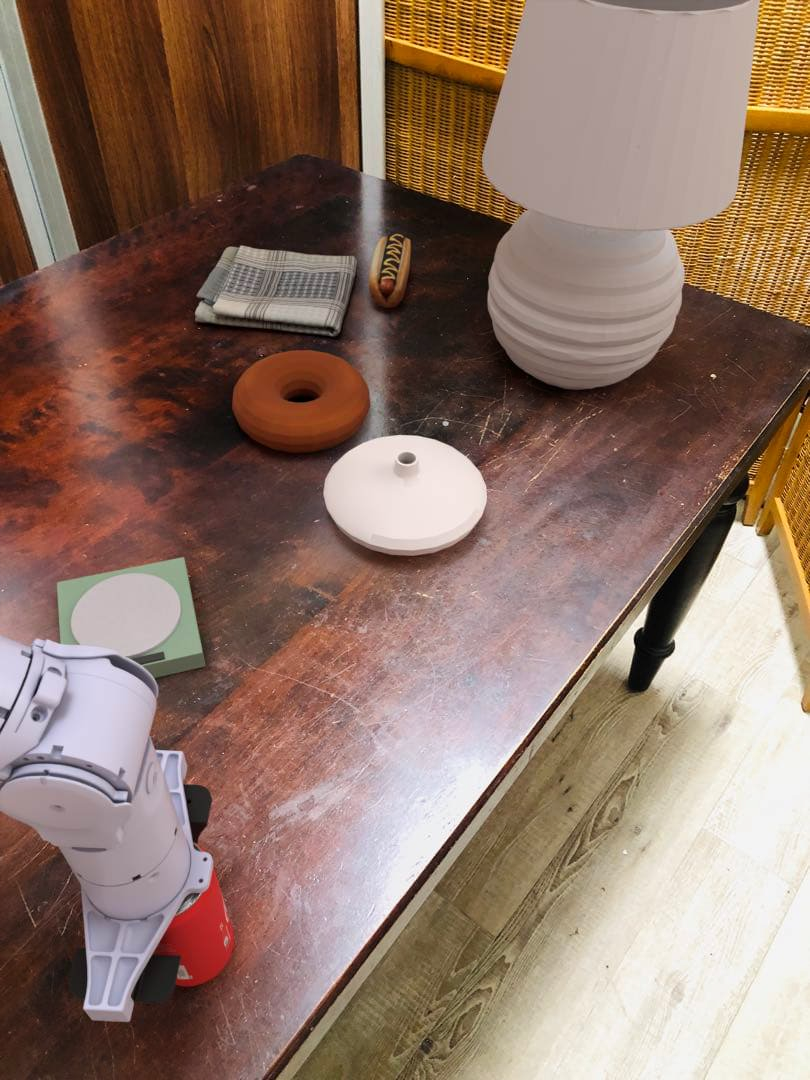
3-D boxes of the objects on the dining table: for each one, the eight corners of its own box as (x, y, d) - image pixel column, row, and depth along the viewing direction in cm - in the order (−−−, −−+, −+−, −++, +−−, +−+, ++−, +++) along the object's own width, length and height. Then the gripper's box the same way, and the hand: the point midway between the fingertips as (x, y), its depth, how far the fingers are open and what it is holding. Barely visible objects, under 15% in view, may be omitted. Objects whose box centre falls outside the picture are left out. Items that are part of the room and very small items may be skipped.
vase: (305, 477, 90) (301, 423, 85) (447, 445, 94) (452, 392, 89) (353, 589, 80) (352, 536, 75) (511, 548, 84) (520, 494, 79)
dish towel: (360, 266, 119) (360, 244, 116) (339, 341, 106) (339, 318, 104) (225, 255, 119) (222, 232, 117) (189, 328, 107) (185, 305, 105)
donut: (271, 481, 89) (267, 443, 86) (212, 402, 98) (206, 364, 94) (396, 434, 95) (397, 397, 91) (330, 363, 103) (328, 326, 100)
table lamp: (711, 353, 107) (839, -25, 78) (614, 461, 93) (727, 47, 64) (533, 283, 117) (588, -76, 88) (421, 370, 103) (442, -23, 74)
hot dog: (363, 314, 111) (363, 279, 107) (375, 261, 120) (376, 226, 116) (403, 318, 110) (404, 282, 107) (412, 264, 119) (413, 229, 116)
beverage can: (147, 929, 59) (108, 853, 50) (222, 897, 60) (197, 818, 52) (167, 1006, 56) (129, 939, 47) (246, 970, 57) (223, 899, 49)
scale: (68, 698, 71) (61, 681, 69) (62, 596, 78) (55, 579, 76) (205, 666, 73) (201, 649, 72) (187, 571, 81) (183, 553, 79)
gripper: (168, 986, 40) (207, 1061, 50) (223, 713, 50) (247, 821, 60) (14, 979, 40) (84, 1055, 50) (100, 708, 50) (144, 816, 60)
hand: (165, 927), depth 55 cm, fingers open, 7 cm apart
